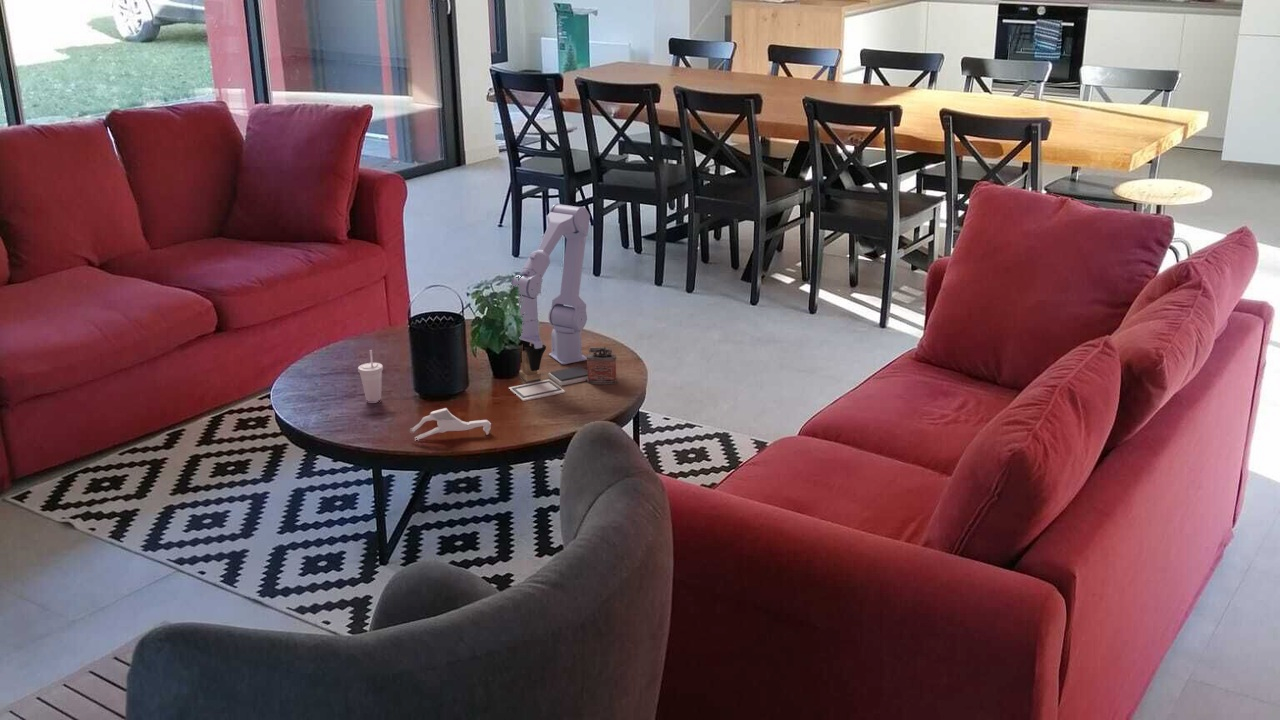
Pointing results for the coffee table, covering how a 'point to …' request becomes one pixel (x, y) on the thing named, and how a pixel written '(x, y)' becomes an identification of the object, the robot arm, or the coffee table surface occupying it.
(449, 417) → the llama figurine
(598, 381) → the lighter
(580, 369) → the ink pad
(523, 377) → the stamp
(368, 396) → the smoothie
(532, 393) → the marked card
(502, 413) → the coffee table surface
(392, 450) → the coffee table surface
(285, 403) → the coffee table surface
